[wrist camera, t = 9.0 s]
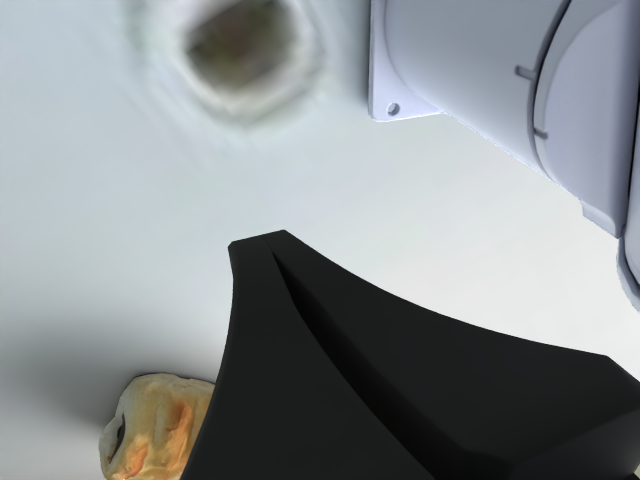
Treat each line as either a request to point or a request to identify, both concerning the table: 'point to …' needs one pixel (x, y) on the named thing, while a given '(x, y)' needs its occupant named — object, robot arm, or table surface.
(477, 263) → the table surface
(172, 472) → the pastry
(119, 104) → the table surface
